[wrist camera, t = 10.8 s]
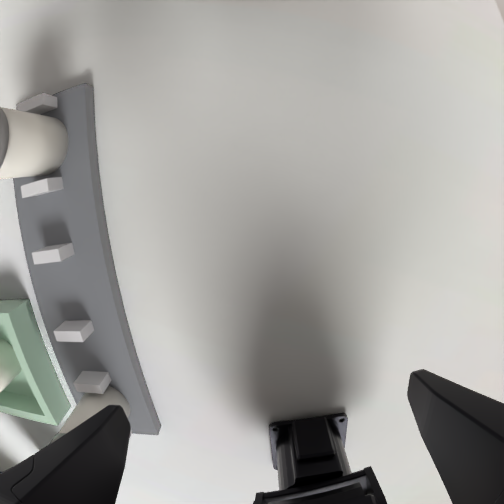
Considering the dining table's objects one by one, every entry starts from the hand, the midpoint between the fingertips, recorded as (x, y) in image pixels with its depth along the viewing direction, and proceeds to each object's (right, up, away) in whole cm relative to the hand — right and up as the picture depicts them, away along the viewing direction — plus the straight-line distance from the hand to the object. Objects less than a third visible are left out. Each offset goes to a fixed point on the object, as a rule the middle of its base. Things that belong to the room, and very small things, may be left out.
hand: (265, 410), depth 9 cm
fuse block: (-13, +2, +12) cm, 18 cm away
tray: (-23, -5, +14) cm, 28 cm away
